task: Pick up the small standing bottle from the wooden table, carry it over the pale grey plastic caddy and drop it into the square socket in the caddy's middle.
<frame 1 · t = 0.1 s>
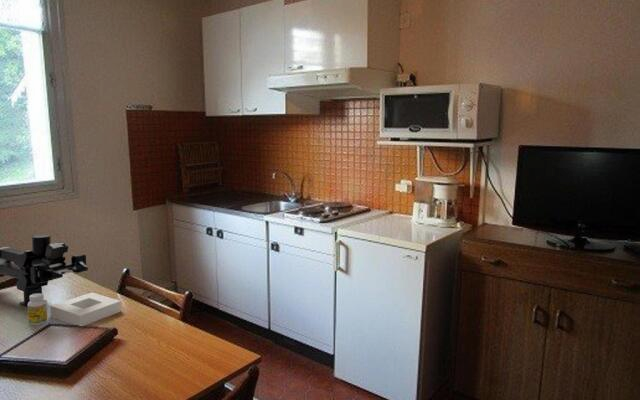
hand: (75, 272, 153), 17 cm above the table, tool horizontal, fingers open, 9 cm apart
caddy: (86, 313, 159), on the table
supplement bottle: (37, 322, 150), on the table
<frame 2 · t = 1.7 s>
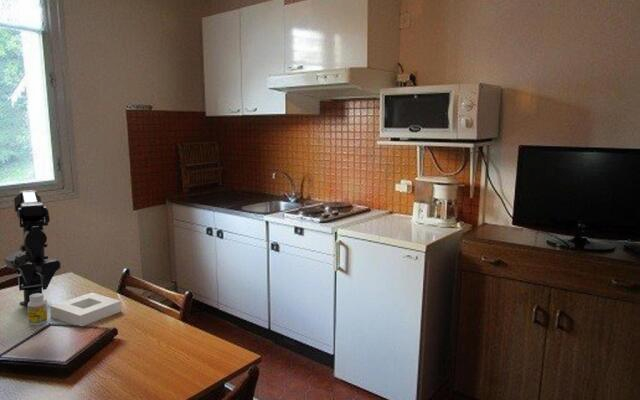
hand: (36, 286, 149), 12 cm above the table, tool pointing down, fingers open, 9 cm apart
nothing on the table moved.
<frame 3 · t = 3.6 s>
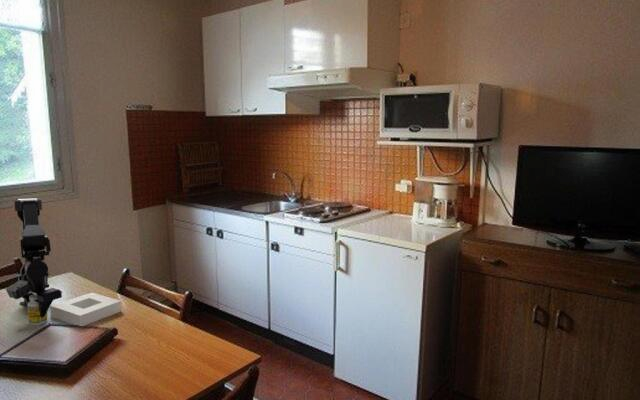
hand: (37, 315, 150), 3 cm above the table, tool pointing down, fingers closed on supplement bottle, 5 cm apart
supplement bottle: (37, 322, 150), on the table, touching gripper
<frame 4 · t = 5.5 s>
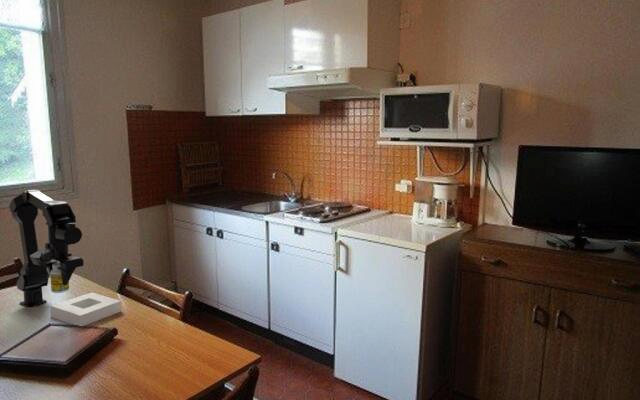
hand: (60, 283, 152), 13 cm above the table, tool pointing down, fingers closed on supplement bottle, 5 cm apart
supplement bottle: (60, 291, 153), point 10 cm above the table, touching gripper
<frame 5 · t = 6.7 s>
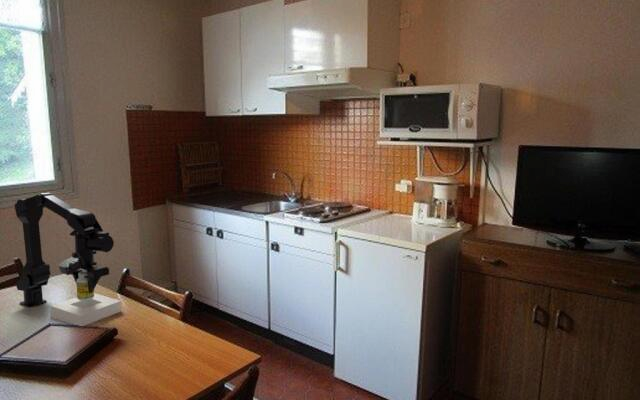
hand: (85, 291, 158), 8 cm above the table, tool pointing down, fingers closed on supplement bottle, 5 cm apart
supplement bottle: (85, 298, 158), point 6 cm above the table, touching gripper
when the fingers open (8 cm above the table, at t = 7.6 s): supplement bottle drops 5 cm, resting in caddy.
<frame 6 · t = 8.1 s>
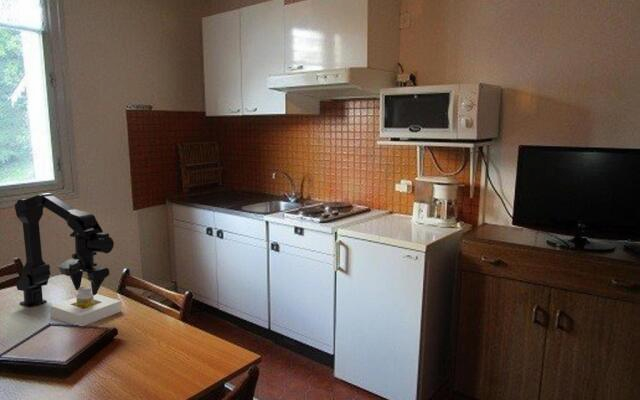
hand: (85, 292, 158), 8 cm above the table, tool pointing down, fingers open, 9 cm apart
supplement bottle: (85, 314, 159), resting in caddy
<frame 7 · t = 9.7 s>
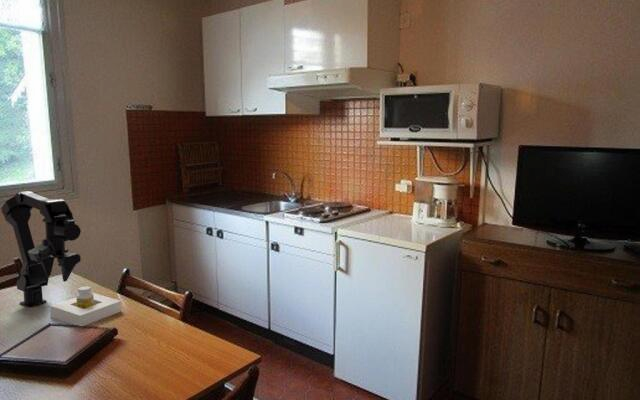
hand: (56, 278, 157), 13 cm above the table, tool pointing down, fingers open, 9 cm apart
nothing on the table moved.
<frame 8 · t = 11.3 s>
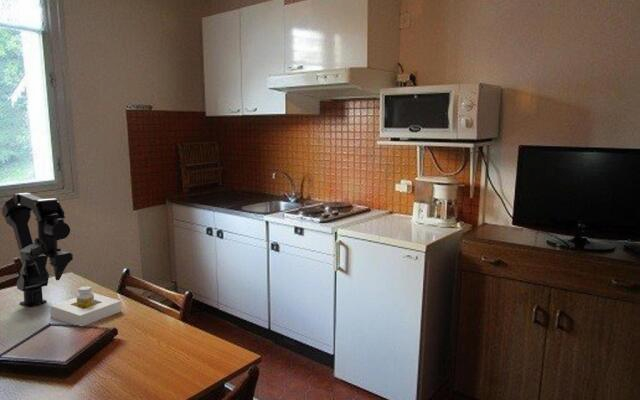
hand: (49, 277, 157), 13 cm above the table, tool pointing down, fingers open, 9 cm apart
nothing on the table moved.
at the end: supplement bottle 0.4 cm from the caddy (horizontally); supplement bottle resting in caddy; supplement bottle tilted 0° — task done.
